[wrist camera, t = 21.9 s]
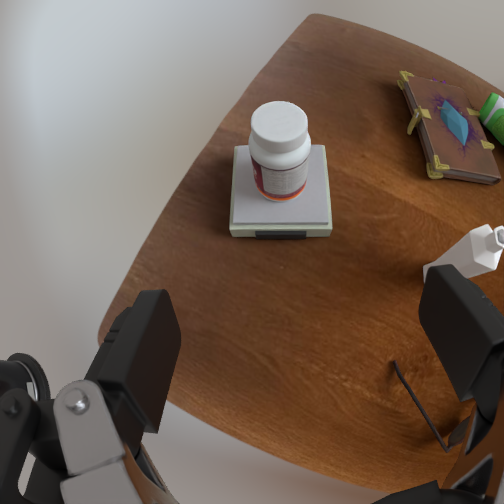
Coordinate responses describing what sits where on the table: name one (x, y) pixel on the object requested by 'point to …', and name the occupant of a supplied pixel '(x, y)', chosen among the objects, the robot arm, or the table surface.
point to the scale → (280, 213)
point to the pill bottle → (279, 150)
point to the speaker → (494, 116)
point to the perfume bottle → (474, 252)
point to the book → (448, 131)
